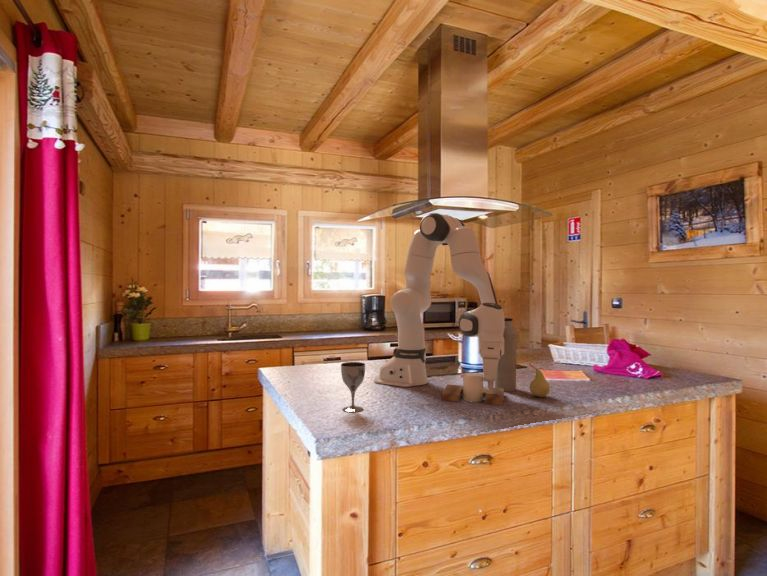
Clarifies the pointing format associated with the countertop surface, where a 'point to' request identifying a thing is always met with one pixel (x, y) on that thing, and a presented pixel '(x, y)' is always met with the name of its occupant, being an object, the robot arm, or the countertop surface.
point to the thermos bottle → (507, 359)
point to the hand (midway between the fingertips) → (490, 387)
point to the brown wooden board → (457, 390)
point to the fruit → (539, 384)
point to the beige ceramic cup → (474, 387)
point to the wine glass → (353, 381)
